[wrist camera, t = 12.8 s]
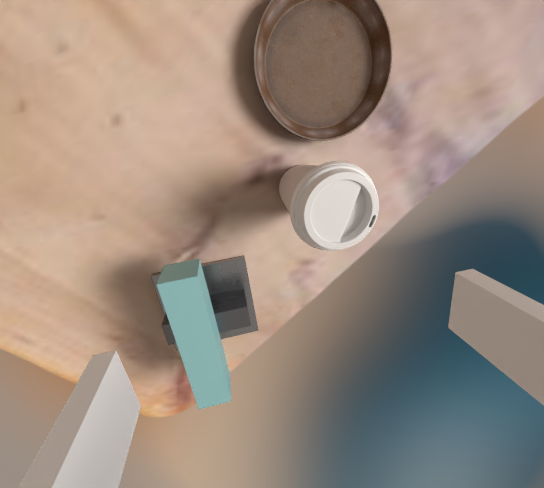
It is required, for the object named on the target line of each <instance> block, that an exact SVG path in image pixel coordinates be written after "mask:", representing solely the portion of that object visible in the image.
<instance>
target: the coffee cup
mask: <svg viewBox="0 0 544 488" xmlns="http://www.w3.org/2000/svg"><path fill="white" fill-rule="evenodd" d="M279 194H280V197H281V199H282V201H283V203H284V204H285V206H286V208H287V209H288V211H289V213H290V216H291V222H292V225H293V228H294V230H295V232H296V233H297V235H298V236H299V237H300V238H301V239H302V240H303V241H304V242H305V243H307V244H308V245H310V246H312V247H314V248H317V249H321V250H340V249H345V248H348V247H351V246H353V245H355V244H357V243H358V242H360V241H361V240H362V239H364V238H365V237H366V236H367V234H368V233H369V232H370V231H371V229H372V228H373V226H374V224H375V222H376V219H377V216H378V210H379V201H378V195H377V191H376V188H375V186H374V184H373V182H372V180H371V178H370V177H369V176H368V174H367V173H366V172H365V171H364V170H362V169H361V168H360V167H358V166H357V165H355V164H352V163H349V162H345V161H332V162H327V163H324V164H322V165H319V166H315V165H298V166H294V167H292V168H290V169H289V170H287V171H286V172H285V173H284V175H283V176H282V178H281V180H280V183H279Z"/></svg>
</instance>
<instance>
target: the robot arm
mask: <svg viewBox="0 0 544 488" xmlns="http://www.w3.org/2000/svg"><path fill="white" fill-rule="evenodd" d="M448 327H449V329H451V330H452V331H453V332H454V333H456V334H457V335H458V336H459V337H461V338H462V339H463V340H464V341H465V342H467V343H468V344H469V345H471V346H472V347H473V348H474V349H475V350H476V351H478V352H479V353H480V354H481V355H483V356H484V357H485V358H486V359H487V360H489V361H490V362H491V363H492V364H494V365H495V366H496V367H497V368H498V369H500V370H501V371H502V372H503V373H505V374H506V375H507V376H508V377H510V378H511V379H512V380H513V381H515V382H516V383H517V384H518V385H519V386H521V387H522V388H523V389H524V390H525V391H527V392H528V393H529V394H530V395H532V396H533V397H534V398H535V399H536V400H538V401H539V402H540V403H541V404H543V405H544V305H542V304H540V303H538V302H536V301H534V300H532V299H530V298H529V297H527V296H525V295H522V294H521V293H519V292H517V291H515V290H513V289H511V288H509V287H507V286H505V285H503V284H501V283H499V282H497V281H495V280H493V279H491V278H489V277H487V276H486V275H484V274H482V273H480V272H478V271H475V270H474V269H470V270H465V271H461V272H456V273H455V281H454V289H453V297H452V304H451V311H450V319H449V326H448ZM140 408H141V405H140V403H139V401H138V398H137V396H136V394H135V392H134V389H133V387H132V385H131V383H130V380H129V378H128V376H127V374H126V372H125V369H124V367H123V365H122V363H121V360H120V358H119V356H118V354H117V351H111V352H107V353H103V354H98V355H94V356H92V358H91V360H90V361H89V363H88V365H87V367H86V369H85V370H84V372H83V374H82V376H81V377H80V379H79V381H78V383H77V384H76V386H75V388H74V390H73V392H72V393H71V395H70V397H69V399H68V400H67V402H66V404H65V406H64V408H63V410H62V411H61V413H60V415H59V416H58V418H57V420H56V422H55V423H54V425H53V427H52V429H51V431H50V432H49V434H48V436H47V438H46V439H45V441H44V443H43V445H42V446H41V448H40V450H39V452H38V454H37V455H36V457H35V459H34V461H33V462H32V464H31V466H30V468H29V470H28V471H27V473H26V475H25V477H24V479H23V480H22V482H21V484H20V485H19V487H18V488H118V486H119V483H120V479H121V476H122V472H123V468H124V465H125V461H126V458H127V454H128V451H129V447H130V443H131V439H132V436H133V433H134V429H135V425H136V422H137V418H138V415H139V411H140Z"/></svg>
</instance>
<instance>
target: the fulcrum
mask: <svg viewBox="0 0 544 488" xmlns="http://www.w3.org/2000/svg"><path fill="white" fill-rule="evenodd" d="M201 265H202V269H203V273H204V277H205V281H206V284H207V288H208V292H209V296H210V300H211V304H212V307H213V311H214V315H215V319H216V323H217V327H218V330H219V334H220V338H221V339H224V338H228V337H232V336H237V335H241V334H245V333H249V332H254V331H258V326H257V321H256V315H255V310H254V305H253V300H252V294H251V289H250V284H249V278H248V273H247V268H246V263H245V257H244V256H239V257H234V258H229V259H224V260H219V261H214V262H209V263H204V264H201ZM160 275H161V272H159V273H154V274H152V275H151V278H152V281H153V284H154V287H155V290H156V292H157V295H158V298H159V301H160V304H161V307H162V310H163V313H164V320H163V323H162V328H163V330H164V333H165V336H166V339H167V342H168V345H170V344H174V345H175V348H176V350H177V349H178V346H177V343H176V340H175V337H174V335H173V332H172V329H171V326H170V323H169V320H168V317H167V314H166V311H165V308H164V305H163V302H162V299H161V296H160V293H159V290H158V287H157V282H158V280H159V277H160Z"/></svg>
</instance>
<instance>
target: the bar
mask: <svg viewBox="0 0 544 488" xmlns="http://www.w3.org/2000/svg"><path fill="white" fill-rule="evenodd" d="M157 287H158V290H159V293H160V296H161V299H162V302H163V305H164V308H165V311H166V314H167V317H168V320H169V323H170V326H171V329H172V332H173V335H174V337H175V340H176V343H177V346H178V349H179V352H180V355H181V358H182V361H183V364H184V367H185V370H186V373H187V376H188V379H189V382H190V385H191V387H192V390H193V393H194V396H195V399H196V402H197V405H198V408H199V409H202V408H206V407H210V406H214V405H217V404H221V403H225V402H229V401H231V388H230V373H229V369H228V365H227V361H226V357H225V353H224V350H223V346H222V342H221V338H220V334H219V330H218V327H217V323H216V319H215V315H214V311H213V307H212V304H211V300H210V296H209V292H208V288H207V284H206V281H205V277H204V273H203V269H202V265H201V261H200V259H195V260H190V261H185V262H180V263H175V264H170V265H165V266H164V267H163V270H162V272H161V275H160V277H159V280H158V282H157Z"/></svg>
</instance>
